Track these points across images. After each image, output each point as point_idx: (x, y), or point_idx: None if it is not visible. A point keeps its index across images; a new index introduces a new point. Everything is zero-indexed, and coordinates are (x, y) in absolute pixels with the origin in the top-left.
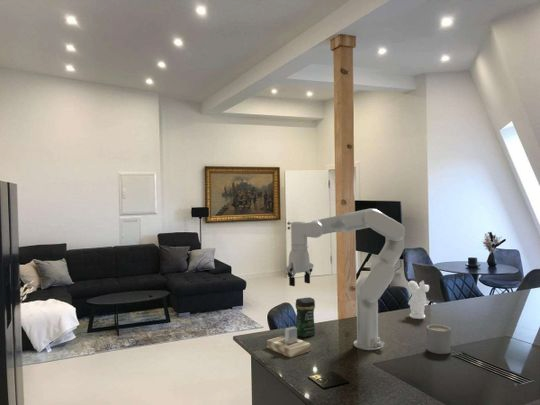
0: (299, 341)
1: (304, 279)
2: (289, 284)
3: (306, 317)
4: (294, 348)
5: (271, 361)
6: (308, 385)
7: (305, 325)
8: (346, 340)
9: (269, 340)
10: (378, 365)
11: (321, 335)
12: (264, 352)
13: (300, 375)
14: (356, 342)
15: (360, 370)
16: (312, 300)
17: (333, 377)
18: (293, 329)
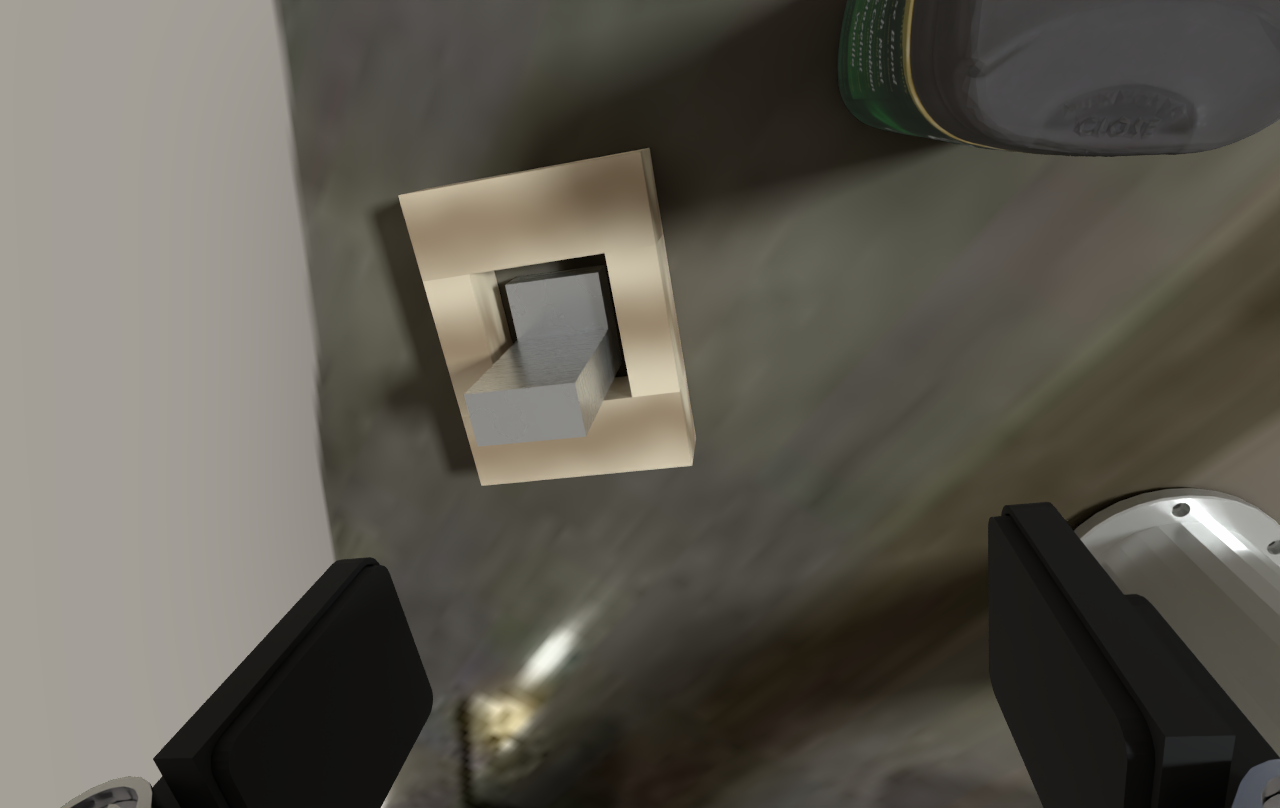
0: (639, 380)
1: (1028, 575)
2: (333, 572)
3: (951, 141)
4: (521, 481)
5: (359, 442)
6: (421, 757)
7: (911, 133)
8: (1143, 404)
9: (412, 217)
10: (898, 801)
11: (1075, 157)
12: (370, 272)
13: (436, 670)
14: (1115, 539)
15: (757, 787)
16: (1242, 110)
17: (576, 765)
18: (542, 436)
